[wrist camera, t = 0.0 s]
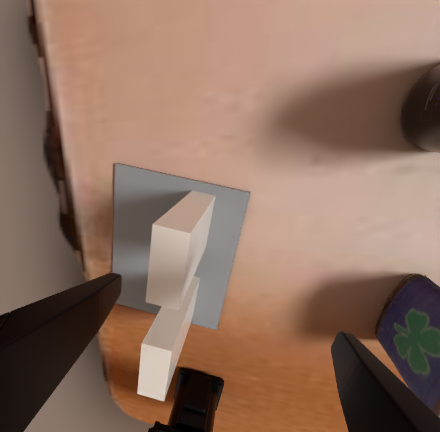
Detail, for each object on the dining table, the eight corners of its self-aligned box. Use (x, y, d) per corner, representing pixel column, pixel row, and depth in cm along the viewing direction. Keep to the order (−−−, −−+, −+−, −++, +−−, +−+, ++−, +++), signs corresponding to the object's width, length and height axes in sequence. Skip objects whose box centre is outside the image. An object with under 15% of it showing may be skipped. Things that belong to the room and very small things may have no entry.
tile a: (192, 317, 28) (164, 401, 19) (173, 312, 28) (136, 393, 19) (199, 277, 26) (171, 351, 17) (179, 272, 26) (140, 342, 17)
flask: (392, 342, 26) (482, 473, 15) (366, 335, 26) (438, 461, 16) (434, 276, 22) (582, 387, 12) (404, 269, 23) (525, 372, 13)
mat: (217, 326, 28) (216, 330, 28) (113, 299, 29) (111, 302, 29) (250, 192, 22) (250, 193, 22) (117, 162, 23) (115, 163, 23)
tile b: (205, 247, 24) (178, 310, 15) (183, 242, 24) (144, 301, 16) (215, 195, 22) (190, 233, 13) (191, 190, 22) (150, 223, 13)
